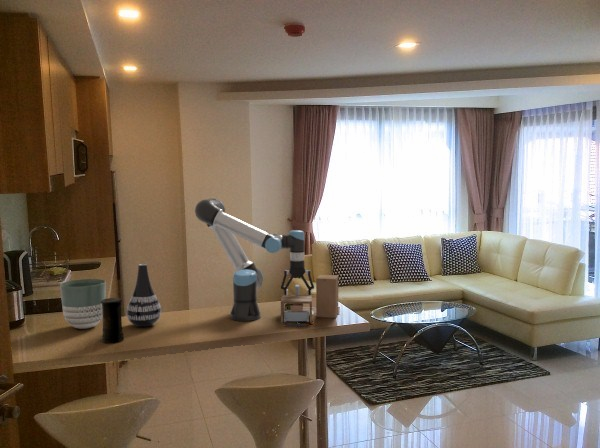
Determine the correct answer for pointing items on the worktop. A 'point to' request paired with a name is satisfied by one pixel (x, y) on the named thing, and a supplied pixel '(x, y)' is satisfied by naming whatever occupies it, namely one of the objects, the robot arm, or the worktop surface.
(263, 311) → the worktop surface
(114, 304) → the container
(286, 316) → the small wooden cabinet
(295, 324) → the pit
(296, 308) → the block
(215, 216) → the robot arm
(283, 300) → the wooden side table
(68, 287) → the planter
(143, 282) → the vase
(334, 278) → the wooden block
